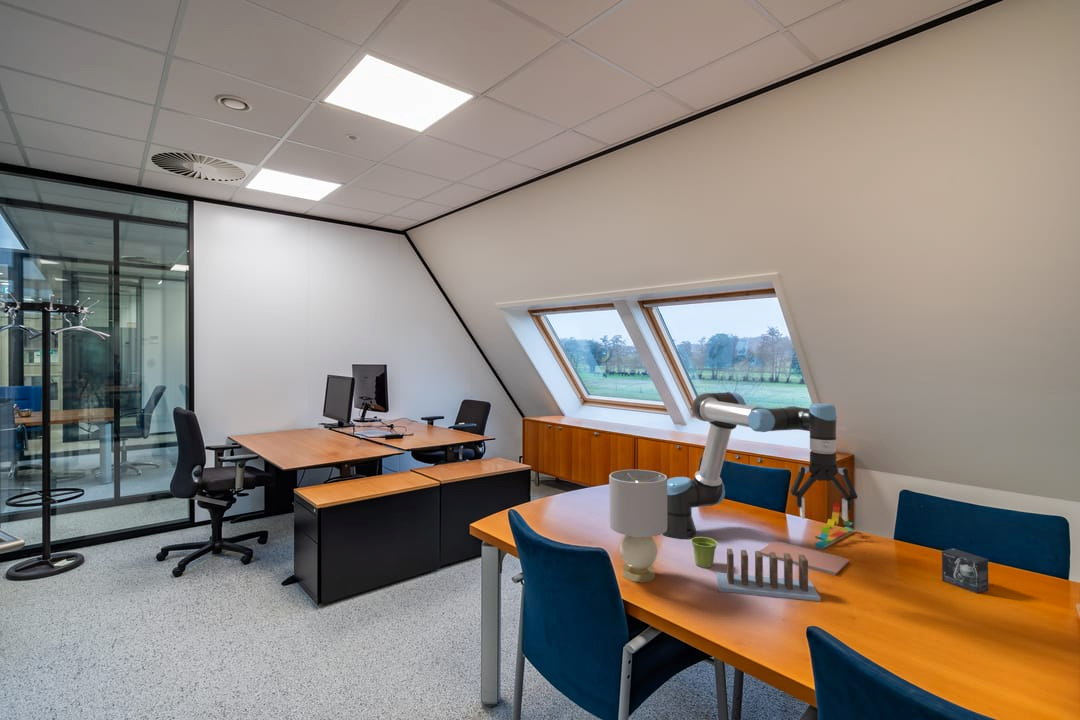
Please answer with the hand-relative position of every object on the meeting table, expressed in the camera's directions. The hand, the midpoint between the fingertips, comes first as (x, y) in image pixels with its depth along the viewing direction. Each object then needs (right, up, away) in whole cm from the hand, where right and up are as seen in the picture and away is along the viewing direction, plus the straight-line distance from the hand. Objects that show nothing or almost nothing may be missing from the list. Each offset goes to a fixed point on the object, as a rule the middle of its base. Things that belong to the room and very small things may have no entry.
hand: (823, 518), depth 164 cm
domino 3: (-19, -23, +5) cm, 30 cm away
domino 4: (-14, -23, +4) cm, 28 cm away
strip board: (-17, -24, +4) cm, 30 cm away
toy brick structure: (+32, -24, +48) cm, 62 cm away
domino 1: (-27, -23, +7) cm, 37 cm away
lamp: (-57, -25, +15) cm, 64 cm away
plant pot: (-31, -25, +24) cm, 46 cm away
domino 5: (-10, -23, +3) cm, 25 cm away
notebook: (+9, -25, +29) cm, 39 cm away
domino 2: (-23, -23, +6) cm, 33 cm away
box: (+50, -24, +5) cm, 56 cm away
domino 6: (-6, -23, +2) cm, 24 cm away
